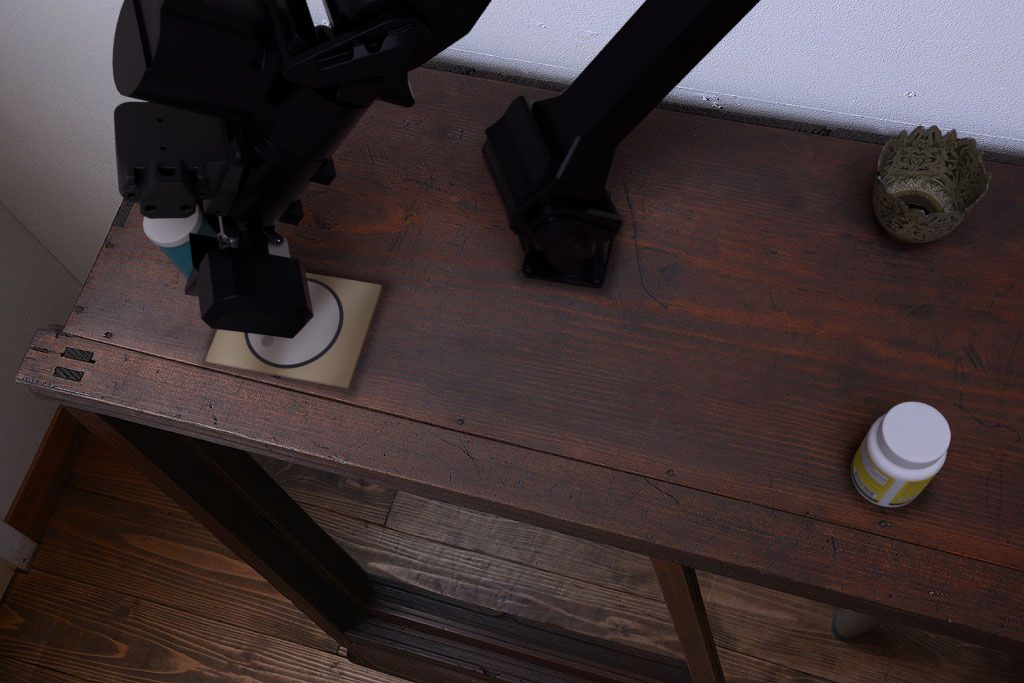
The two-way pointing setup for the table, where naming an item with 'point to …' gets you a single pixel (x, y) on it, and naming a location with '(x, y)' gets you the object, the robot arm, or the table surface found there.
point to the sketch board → (309, 337)
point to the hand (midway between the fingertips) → (188, 270)
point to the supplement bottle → (901, 454)
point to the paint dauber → (178, 237)
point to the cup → (927, 184)
